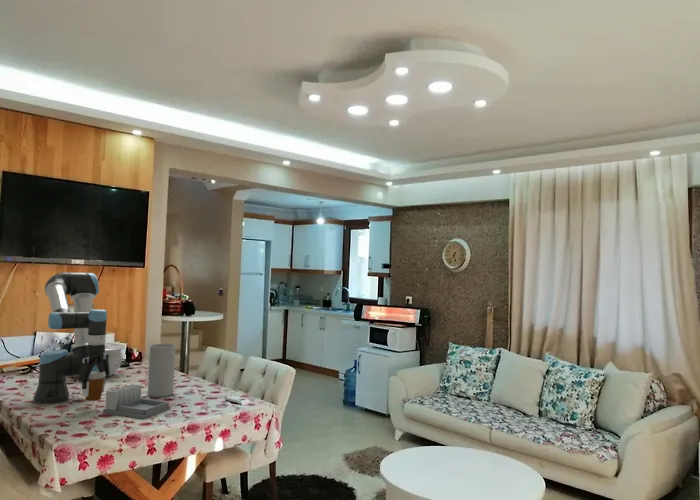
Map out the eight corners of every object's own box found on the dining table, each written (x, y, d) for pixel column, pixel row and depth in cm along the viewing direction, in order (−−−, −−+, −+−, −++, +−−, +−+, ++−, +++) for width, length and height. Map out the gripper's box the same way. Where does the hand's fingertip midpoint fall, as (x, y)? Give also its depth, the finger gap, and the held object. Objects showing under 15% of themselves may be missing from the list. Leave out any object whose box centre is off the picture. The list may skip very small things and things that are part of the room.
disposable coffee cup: (95, 402, 240) (96, 375, 240) (76, 400, 242) (78, 373, 242) (109, 397, 249) (110, 371, 249) (90, 395, 251) (92, 369, 251)
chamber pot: (111, 381, 305) (113, 344, 306) (63, 379, 306) (65, 342, 306) (132, 371, 333) (133, 338, 334) (87, 370, 334) (89, 336, 334)
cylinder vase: (143, 394, 278) (145, 345, 279) (165, 390, 287) (167, 343, 288) (154, 398, 269) (157, 348, 270) (177, 395, 278) (180, 346, 279)
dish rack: (170, 409, 250) (171, 388, 251) (142, 418, 233) (143, 396, 234) (132, 403, 258) (133, 383, 258) (103, 412, 241) (104, 391, 242)
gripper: (83, 347, 234) (80, 400, 234) (120, 341, 254) (117, 390, 254) (70, 346, 237) (67, 398, 237) (107, 340, 257) (105, 388, 256)
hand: (93, 393), depth 245 cm, fingers closed on disposable coffee cup, 8 cm apart
